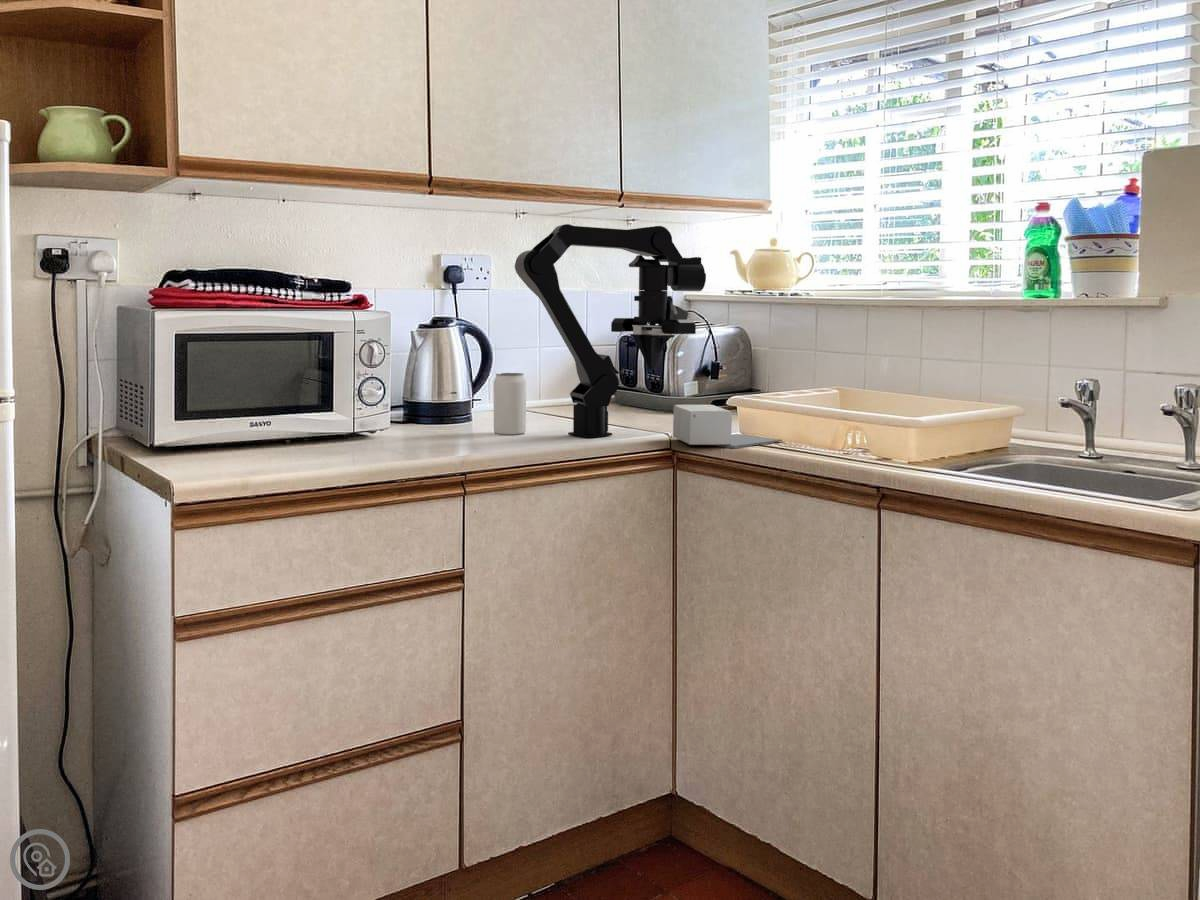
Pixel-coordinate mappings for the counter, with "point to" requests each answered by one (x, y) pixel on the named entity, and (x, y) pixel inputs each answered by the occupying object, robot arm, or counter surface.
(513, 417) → the can
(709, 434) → the small box
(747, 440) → the mat
